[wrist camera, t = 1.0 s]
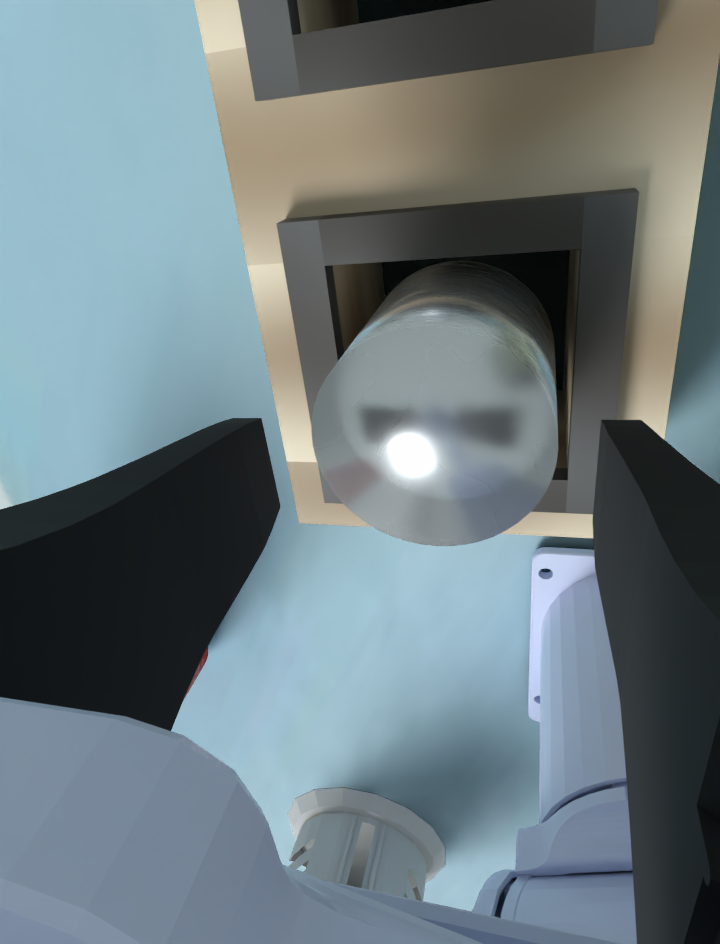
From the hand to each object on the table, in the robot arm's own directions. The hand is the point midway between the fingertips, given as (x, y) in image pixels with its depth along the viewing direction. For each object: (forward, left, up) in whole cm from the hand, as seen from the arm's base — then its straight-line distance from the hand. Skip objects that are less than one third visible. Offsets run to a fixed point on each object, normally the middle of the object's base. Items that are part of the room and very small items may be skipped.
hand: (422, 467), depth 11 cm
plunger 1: (0, 0, -6) cm, 6 cm away
